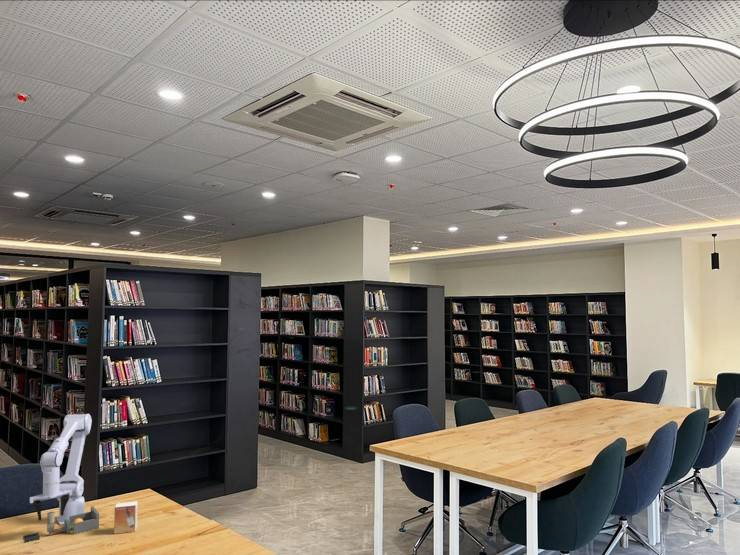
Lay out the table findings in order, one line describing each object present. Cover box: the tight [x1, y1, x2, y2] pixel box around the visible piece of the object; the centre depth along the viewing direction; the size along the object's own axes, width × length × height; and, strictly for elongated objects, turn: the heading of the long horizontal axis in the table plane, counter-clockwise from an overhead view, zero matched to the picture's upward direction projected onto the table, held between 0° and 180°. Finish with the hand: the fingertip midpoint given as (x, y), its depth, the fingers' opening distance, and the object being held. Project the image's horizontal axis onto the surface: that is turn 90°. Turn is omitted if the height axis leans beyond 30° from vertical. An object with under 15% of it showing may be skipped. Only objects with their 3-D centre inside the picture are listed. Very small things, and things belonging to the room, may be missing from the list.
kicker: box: [46, 511, 72, 536], centre depth 220 cm, size 8×6×8 cm
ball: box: [72, 518, 83, 528], centre depth 224 cm, size 4×4×4 cm
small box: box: [113, 500, 139, 535], centre depth 221 cm, size 8×6×10 cm
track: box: [22, 532, 41, 544], centre depth 214 cm, size 5×4×1 cm
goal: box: [69, 505, 100, 535], centre depth 225 cm, size 9×11×6 cm
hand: (50, 517), depth 218 cm, fingers open, 7 cm apart
